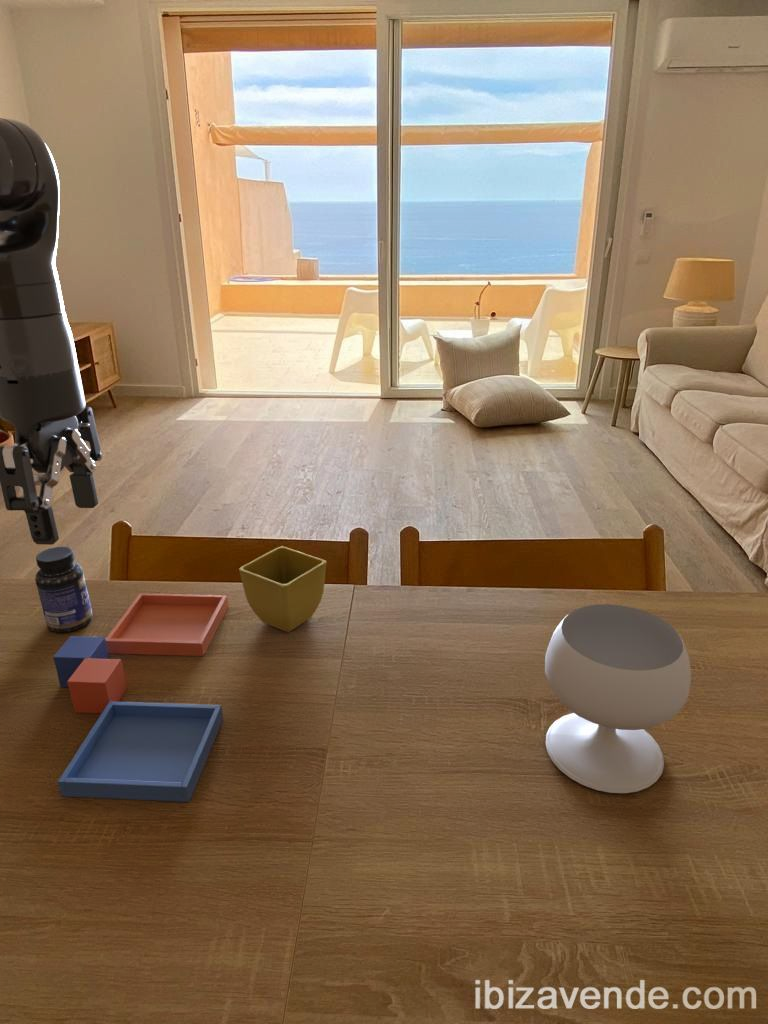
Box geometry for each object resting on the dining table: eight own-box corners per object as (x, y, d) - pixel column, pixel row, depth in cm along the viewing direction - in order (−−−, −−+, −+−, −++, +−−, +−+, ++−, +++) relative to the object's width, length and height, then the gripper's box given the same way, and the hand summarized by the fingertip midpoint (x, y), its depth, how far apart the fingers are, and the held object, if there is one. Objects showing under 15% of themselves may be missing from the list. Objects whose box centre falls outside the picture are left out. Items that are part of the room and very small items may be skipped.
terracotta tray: (106, 653, 92) (103, 640, 91) (141, 604, 103) (139, 593, 102) (203, 656, 91) (201, 643, 90) (228, 606, 102) (227, 595, 102)
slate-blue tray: (61, 796, 70) (57, 781, 69) (112, 714, 81) (109, 701, 80) (189, 802, 69) (186, 787, 68) (223, 718, 80) (221, 705, 79)
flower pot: (285, 597, 104) (281, 544, 101) (330, 615, 100) (327, 560, 96) (243, 624, 98) (237, 568, 94) (289, 644, 93) (284, 586, 90)
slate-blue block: (60, 687, 86) (52, 657, 84) (77, 665, 90) (70, 635, 88) (95, 688, 85) (88, 658, 84) (111, 666, 90) (104, 636, 88)
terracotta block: (74, 712, 81) (66, 681, 80) (91, 688, 86) (84, 658, 84) (111, 714, 81) (104, 682, 79) (127, 689, 85) (121, 659, 83)
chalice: (525, 780, 71) (536, 659, 65) (548, 697, 83) (559, 588, 77) (671, 820, 66) (699, 694, 60) (673, 726, 78) (696, 612, 72)
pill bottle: (98, 625, 98) (83, 556, 94) (52, 639, 95) (34, 568, 91) (87, 606, 103) (73, 539, 99) (43, 619, 100) (26, 551, 95)
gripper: (35, 349, 70) (66, 496, 77) (-56, 382, 57) (-9, 556, 64) (106, 349, 70) (132, 497, 77) (31, 383, 57) (70, 557, 64)
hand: (68, 523), depth 70 cm, fingers open, 8 cm apart
